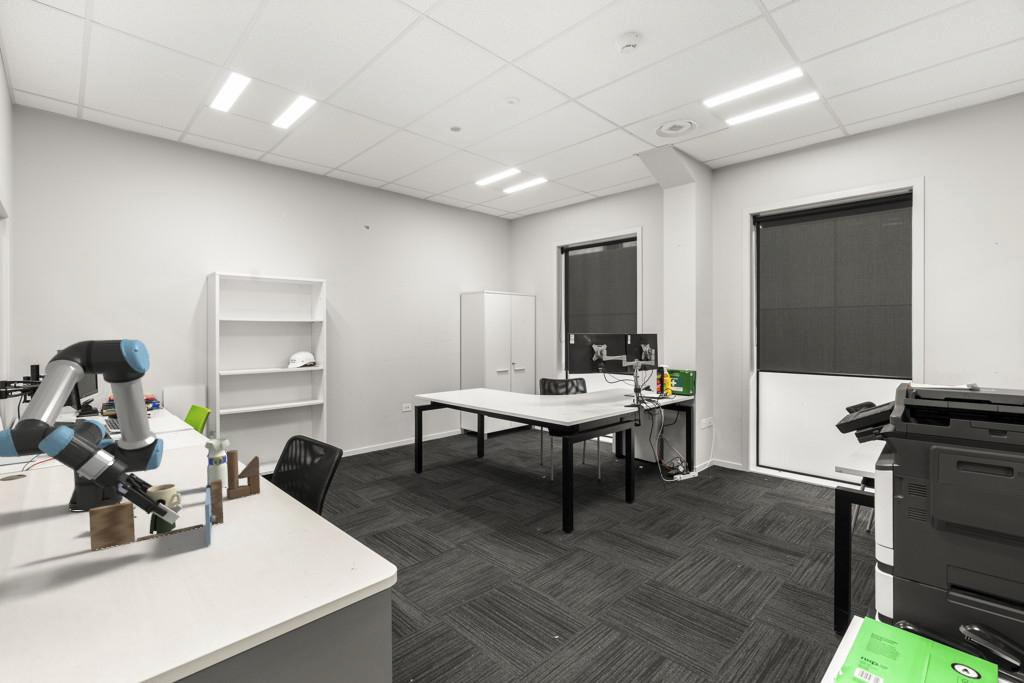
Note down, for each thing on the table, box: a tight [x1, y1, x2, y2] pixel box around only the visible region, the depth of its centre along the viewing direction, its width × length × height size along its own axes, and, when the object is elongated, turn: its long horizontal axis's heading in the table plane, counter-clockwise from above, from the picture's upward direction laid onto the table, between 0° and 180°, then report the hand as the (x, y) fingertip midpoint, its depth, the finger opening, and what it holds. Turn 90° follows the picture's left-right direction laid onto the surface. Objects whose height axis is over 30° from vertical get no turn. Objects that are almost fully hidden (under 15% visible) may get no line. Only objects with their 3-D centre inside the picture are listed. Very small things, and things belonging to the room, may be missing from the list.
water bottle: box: [204, 428, 230, 489], centre depth 196 cm, size 8×9×25 cm
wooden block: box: [226, 449, 261, 500], centre depth 186 cm, size 4×11×18 cm, turn 134°
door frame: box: [88, 479, 224, 551], centre depth 151 cm, size 33×2×14 cm, turn 126°
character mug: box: [146, 483, 182, 535], centre depth 140 cm, size 11×7×13 cm, turn 90°
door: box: [204, 488, 215, 546], centre depth 150 cm, size 18×2×12 cm, turn 31°
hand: (177, 515), depth 141 cm, fingers closed on character mug, 7 cm apart
